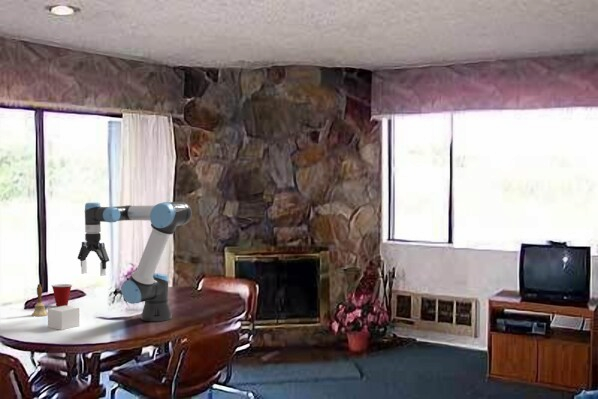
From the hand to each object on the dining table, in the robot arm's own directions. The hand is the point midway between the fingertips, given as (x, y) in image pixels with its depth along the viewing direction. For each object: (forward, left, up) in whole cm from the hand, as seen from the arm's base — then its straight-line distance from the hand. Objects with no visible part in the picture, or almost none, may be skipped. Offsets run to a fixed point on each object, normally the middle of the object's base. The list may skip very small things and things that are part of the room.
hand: (93, 274), depth 355 cm
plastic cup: (+35, -8, -22) cm, 42 cm away
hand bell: (+26, +13, -22) cm, 36 cm away
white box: (-5, +23, -22) cm, 32 cm away
